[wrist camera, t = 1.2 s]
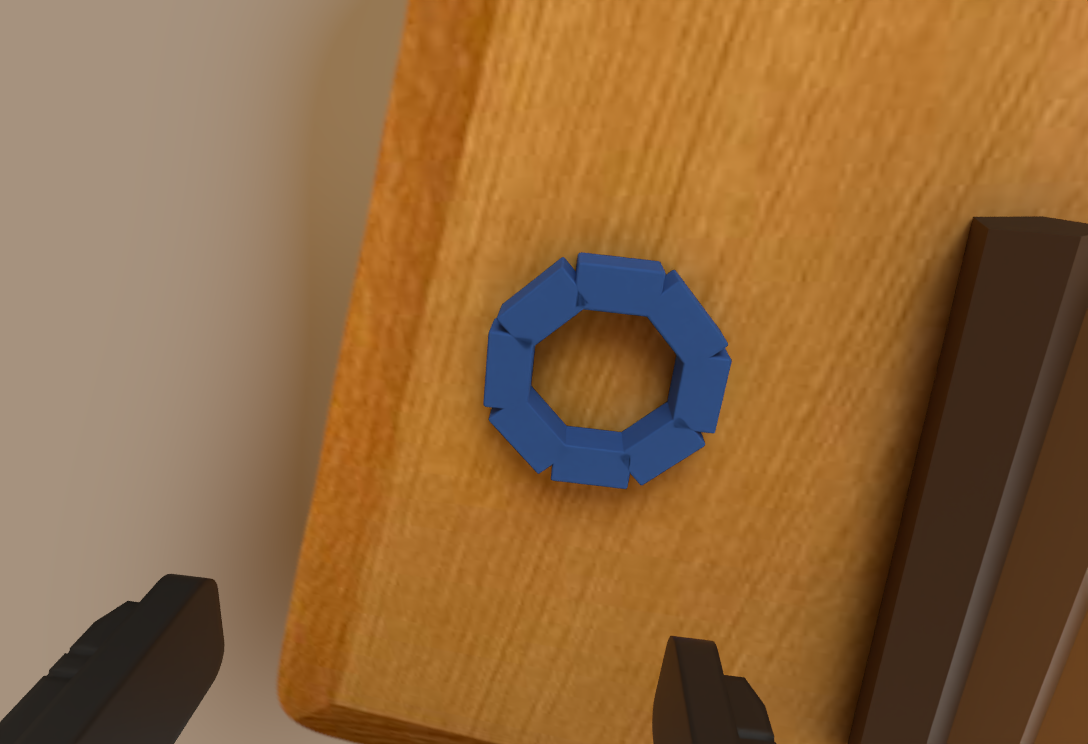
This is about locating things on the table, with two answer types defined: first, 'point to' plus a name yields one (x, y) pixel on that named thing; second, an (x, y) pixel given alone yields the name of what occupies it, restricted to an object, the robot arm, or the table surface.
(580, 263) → the ring
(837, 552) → the table surface
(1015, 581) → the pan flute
